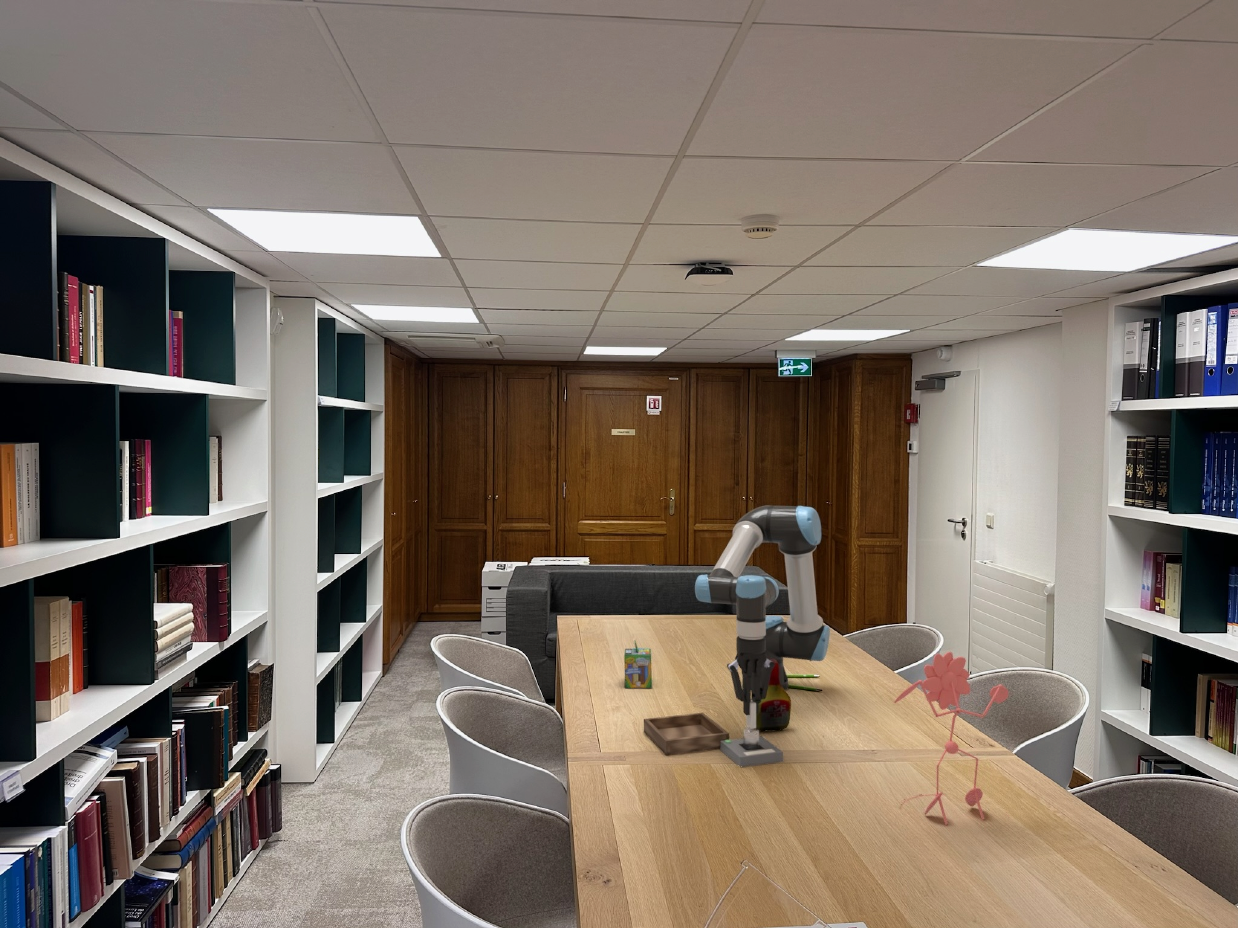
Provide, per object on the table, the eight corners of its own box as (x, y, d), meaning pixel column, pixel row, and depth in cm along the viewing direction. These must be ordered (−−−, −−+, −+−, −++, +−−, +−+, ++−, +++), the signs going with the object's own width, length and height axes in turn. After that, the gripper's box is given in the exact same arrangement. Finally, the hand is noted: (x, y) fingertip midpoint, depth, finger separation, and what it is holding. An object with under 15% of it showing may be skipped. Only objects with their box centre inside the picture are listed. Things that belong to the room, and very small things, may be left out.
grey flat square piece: (761, 745, 218) (761, 734, 218) (783, 761, 206) (783, 750, 206) (720, 750, 214) (720, 739, 214) (740, 767, 203) (740, 755, 203)
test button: (754, 743, 213) (754, 726, 213) (761, 748, 209) (761, 731, 209) (740, 745, 212) (740, 728, 212) (747, 750, 208) (747, 733, 208)
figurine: (1020, 816, 175) (1017, 654, 175) (915, 831, 168) (912, 663, 168) (972, 789, 190) (970, 640, 190) (874, 802, 183) (872, 647, 183)
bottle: (788, 725, 233) (788, 656, 233) (794, 732, 227) (794, 662, 227) (747, 726, 232) (747, 657, 232) (752, 734, 226) (752, 663, 226)
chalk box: (651, 688, 269) (651, 644, 269) (624, 688, 269) (624, 644, 269) (651, 680, 278) (651, 638, 278) (625, 680, 279) (624, 638, 278)
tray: (702, 725, 233) (702, 712, 233) (729, 747, 216) (729, 733, 216) (643, 732, 228) (643, 718, 228) (666, 755, 211) (665, 740, 211)
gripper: (766, 631, 215) (766, 719, 216) (721, 634, 211) (722, 724, 212) (780, 637, 208) (780, 728, 208) (734, 641, 204) (734, 734, 205)
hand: (751, 726), depth 210 cm, fingers closed
